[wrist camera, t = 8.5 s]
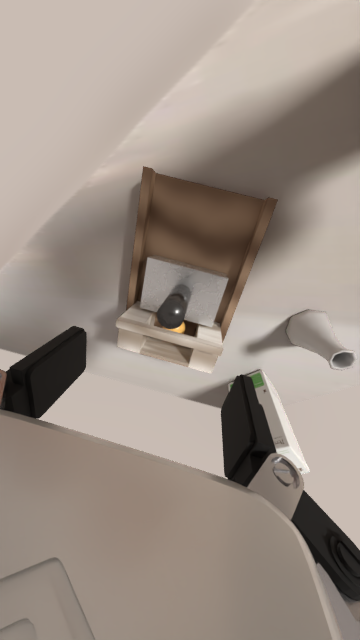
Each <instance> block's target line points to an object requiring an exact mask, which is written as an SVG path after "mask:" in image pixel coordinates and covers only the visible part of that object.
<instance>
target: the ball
mask: <svg viewBox="0 0 360 640" xmlns="http://www.w3.org/2000/svg"><path fill="white" fill-rule="evenodd" d="M163 329H167V328H165V327H163ZM167 330H171V331H174V332H178V333H181V334H184V331H185V324H184V322H183V323H182V324H181V326H179V327H178V328H175V329H167Z"/></svg>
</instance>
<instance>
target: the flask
mask: <svg viewBox="0 0 360 640" xmlns="http://www.w3.org/2000/svg"><path fill="white" fill-rule="evenodd" d="M286 333H287V335H288V337H289V339H290V342H291V344H294V345H297V346H299V347H302V348H305V349H308V350H310V351H313V352H315V353H317V354H319V355H320V356H322V357H323V358H325V359H326V360H327V361H328V362H329V365H330V367H331V368H332V369H336V370H345V369H348V368H351V367H353V365H354V364H355V362H356V360H357V358H356V355H355V352H354V351H353V350H348V349H346V348H345V347H344V346H343V345H342V344H341V343H340V341H339V340H338V339H337V337H336V335H335V333H334V331H333V328H332V326H331V323H330V321H329V318H328V315H327V313H326V312H322V311H315V310H306V311H304V312H302V313H299V314H297V315H294V316H292V317H291V319H290V321H289V324H288V327H287V329H286Z"/></svg>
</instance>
